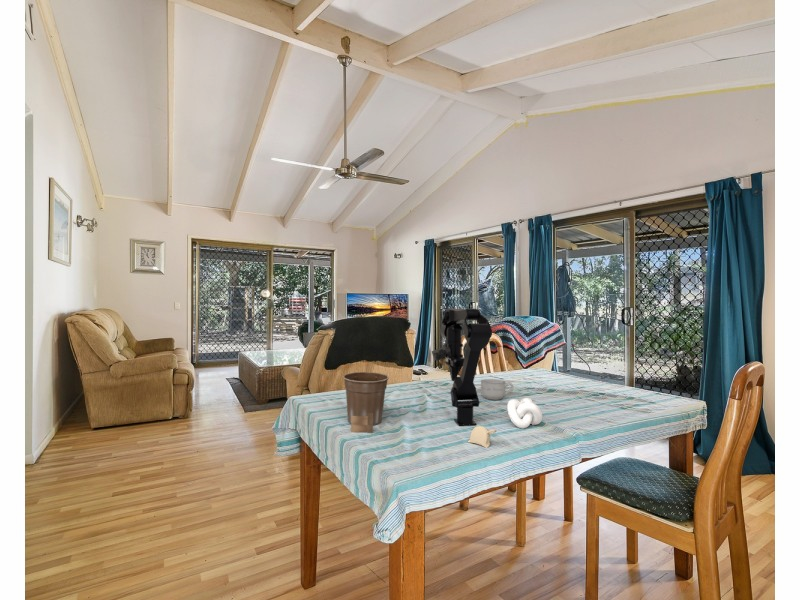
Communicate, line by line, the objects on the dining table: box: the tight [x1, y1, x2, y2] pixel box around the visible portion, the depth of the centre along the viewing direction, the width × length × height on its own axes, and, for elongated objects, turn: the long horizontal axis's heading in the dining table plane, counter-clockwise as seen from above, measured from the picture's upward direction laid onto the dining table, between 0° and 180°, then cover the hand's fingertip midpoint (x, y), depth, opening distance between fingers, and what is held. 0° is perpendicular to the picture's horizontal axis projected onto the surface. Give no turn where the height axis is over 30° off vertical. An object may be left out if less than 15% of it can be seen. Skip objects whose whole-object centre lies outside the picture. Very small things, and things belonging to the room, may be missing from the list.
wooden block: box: [350, 413, 374, 434], centre depth 147 cm, size 7×24×6 cm, turn 179°
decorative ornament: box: [467, 425, 497, 449], centre depth 126 cm, size 4×8×5 cm, turn 48°
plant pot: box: [342, 371, 390, 426], centre depth 146 cm, size 16×16×16 cm
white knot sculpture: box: [506, 397, 543, 429], centre depth 146 cm, size 11×12×9 cm
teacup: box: [480, 378, 514, 401], centre depth 180 cm, size 14×11×8 cm
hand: (453, 380), depth 160 cm, fingers closed
